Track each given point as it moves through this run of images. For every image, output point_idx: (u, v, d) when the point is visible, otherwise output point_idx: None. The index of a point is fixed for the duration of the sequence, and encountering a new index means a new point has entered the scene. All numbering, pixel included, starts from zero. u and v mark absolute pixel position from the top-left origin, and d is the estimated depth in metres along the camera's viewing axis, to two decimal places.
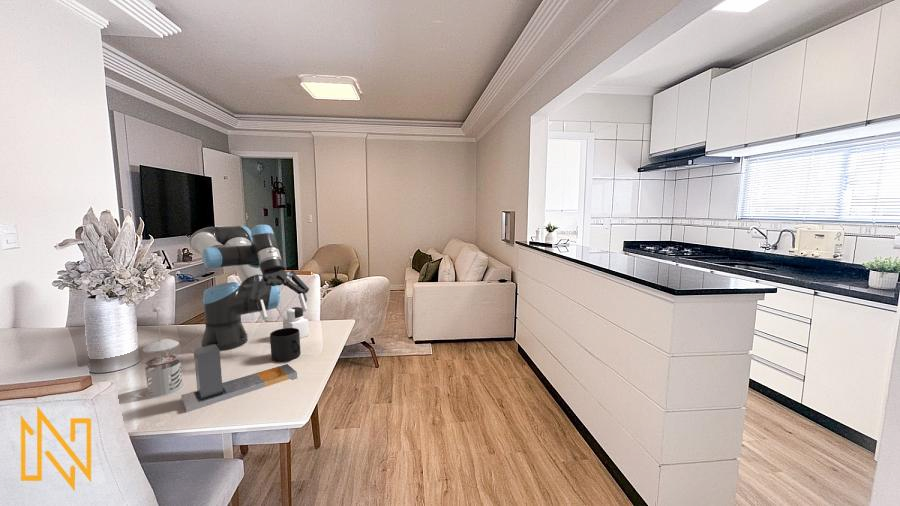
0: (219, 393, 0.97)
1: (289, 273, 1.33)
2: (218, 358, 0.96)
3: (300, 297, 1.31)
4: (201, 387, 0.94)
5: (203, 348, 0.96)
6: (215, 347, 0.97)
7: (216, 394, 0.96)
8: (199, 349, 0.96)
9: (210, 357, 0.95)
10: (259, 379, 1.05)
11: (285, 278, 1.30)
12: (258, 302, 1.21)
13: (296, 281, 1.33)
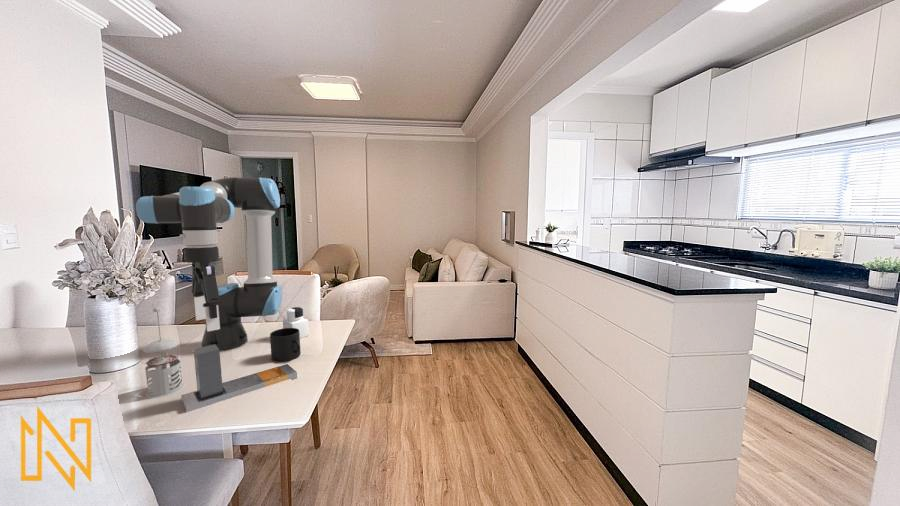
0: (219, 393, 0.97)
1: None
2: (218, 358, 0.96)
3: None
4: (201, 387, 0.94)
5: (203, 348, 0.96)
6: (215, 347, 0.97)
7: (216, 394, 0.96)
8: (199, 349, 0.96)
9: (210, 357, 0.95)
10: (259, 379, 1.05)
11: (198, 278, 0.91)
12: None
13: None
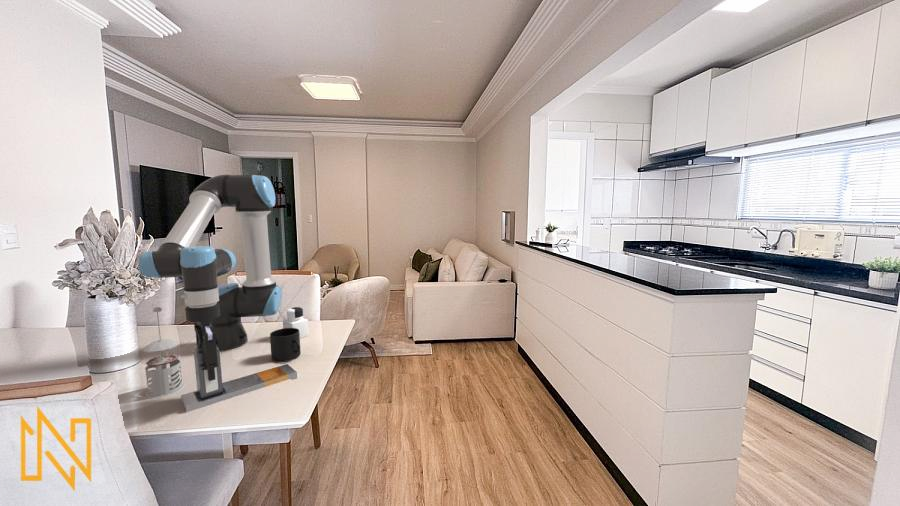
0: (219, 393, 0.97)
1: (206, 332, 0.91)
2: (218, 358, 0.96)
3: None
4: (201, 387, 0.94)
5: None
6: None
7: (216, 394, 0.96)
8: (199, 349, 0.96)
9: None
10: (259, 379, 1.05)
11: (198, 338, 0.93)
12: None
13: None
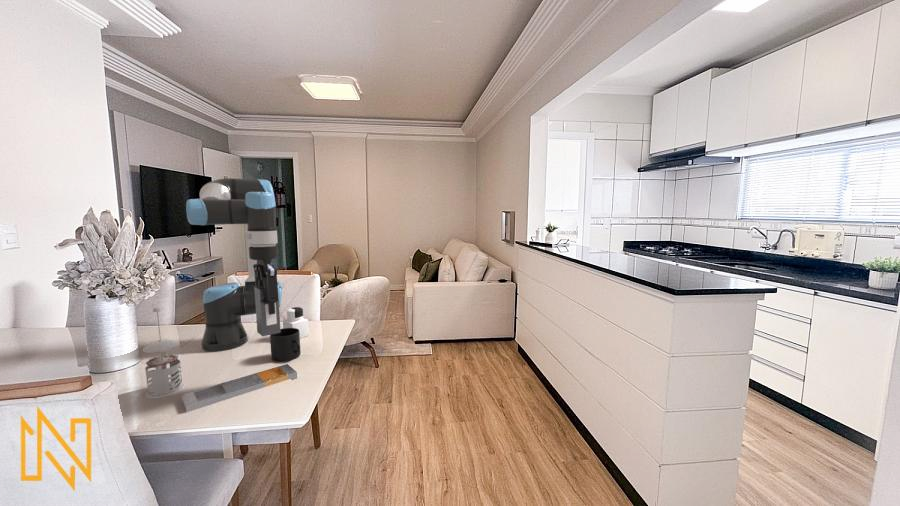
0: (277, 328, 1.06)
1: None
2: None
3: None
4: (262, 320, 1.03)
5: (263, 286, 1.06)
6: None
7: (274, 328, 1.06)
8: (259, 287, 1.05)
9: None
10: (259, 379, 1.05)
11: (260, 275, 1.02)
12: None
13: None
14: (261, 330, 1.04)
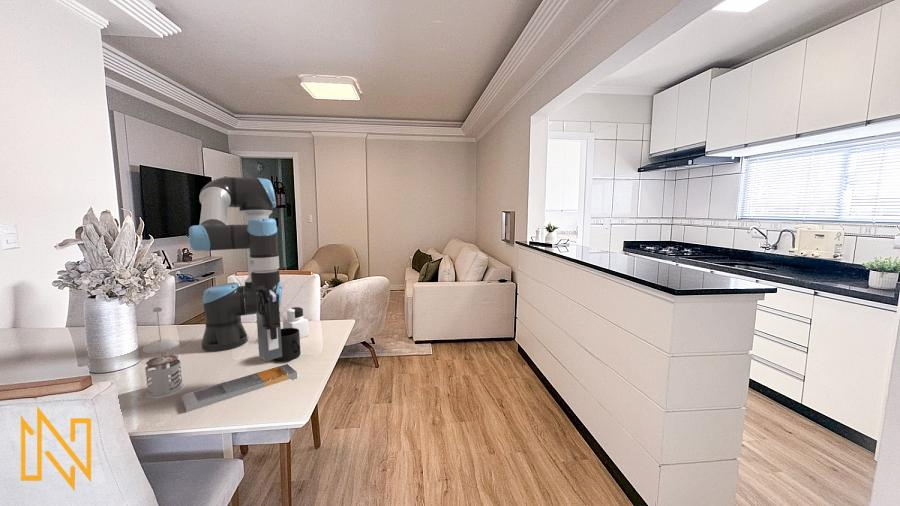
0: (279, 352, 1.07)
1: None
2: None
3: None
4: (264, 345, 1.04)
5: (265, 311, 1.07)
6: None
7: (276, 352, 1.07)
8: (261, 312, 1.06)
9: None
10: (259, 379, 1.05)
11: (262, 301, 1.03)
12: None
13: None
14: (263, 355, 1.05)
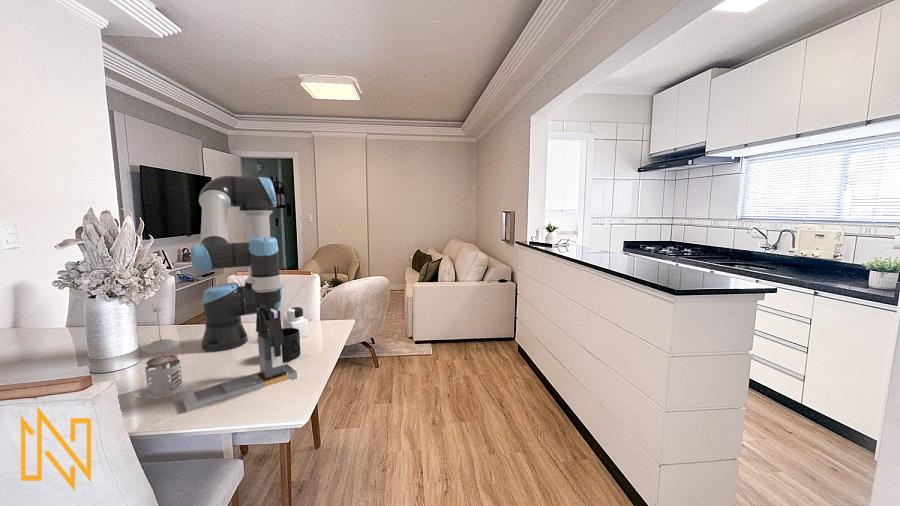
0: (280, 374, 1.08)
1: None
2: None
3: None
4: (266, 368, 1.05)
5: (266, 333, 1.08)
6: None
7: (278, 374, 1.08)
8: (263, 334, 1.07)
9: None
10: (259, 379, 1.05)
11: (264, 319, 1.04)
12: None
13: None
14: (264, 377, 1.06)
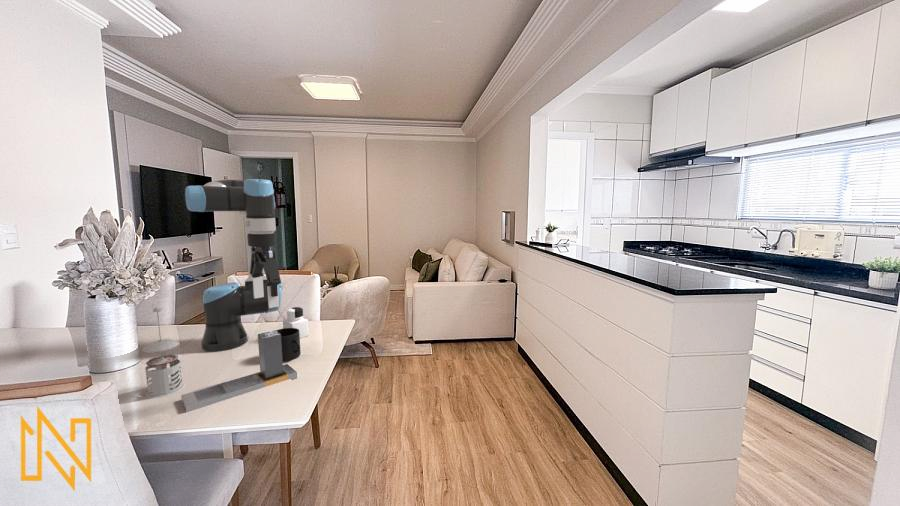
0: (280, 374, 1.08)
1: None
2: (280, 342, 1.07)
3: None
4: (266, 368, 1.05)
5: (266, 333, 1.08)
6: (277, 333, 1.08)
7: (278, 374, 1.08)
8: (263, 334, 1.07)
9: (273, 341, 1.06)
10: (259, 379, 1.05)
11: (260, 261, 1.03)
12: None
13: None
14: (264, 377, 1.06)
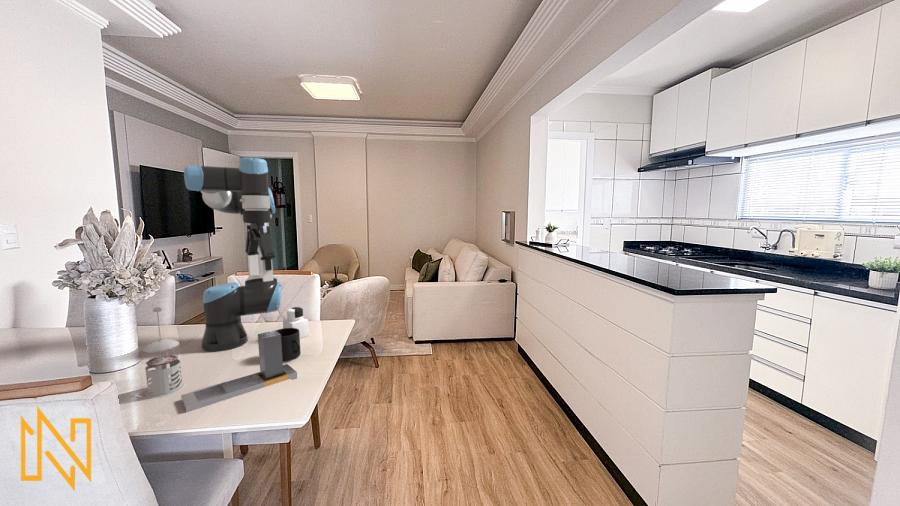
0: (280, 374, 1.08)
1: None
2: (280, 342, 1.07)
3: None
4: (266, 368, 1.05)
5: (266, 333, 1.08)
6: (277, 333, 1.08)
7: (278, 374, 1.08)
8: (263, 334, 1.07)
9: (273, 341, 1.06)
10: (259, 379, 1.05)
11: (254, 236, 1.07)
12: None
13: None
14: (264, 377, 1.06)
